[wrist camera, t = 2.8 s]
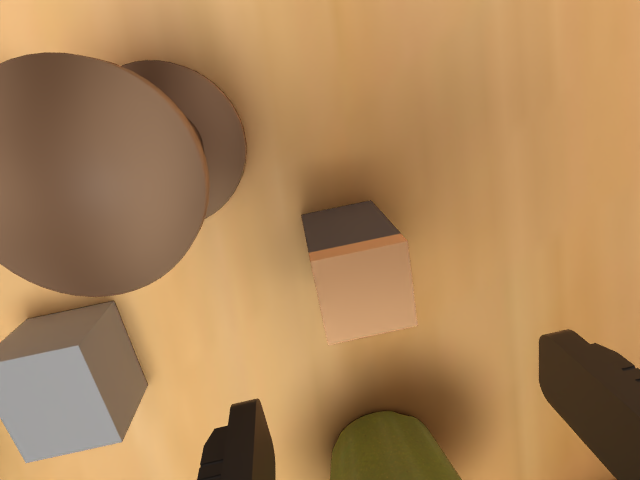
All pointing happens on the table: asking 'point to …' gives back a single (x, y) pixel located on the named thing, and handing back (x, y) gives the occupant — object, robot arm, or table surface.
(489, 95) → the table surface
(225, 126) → the bobbin
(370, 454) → the plant pot
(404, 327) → the tan rectangular block
